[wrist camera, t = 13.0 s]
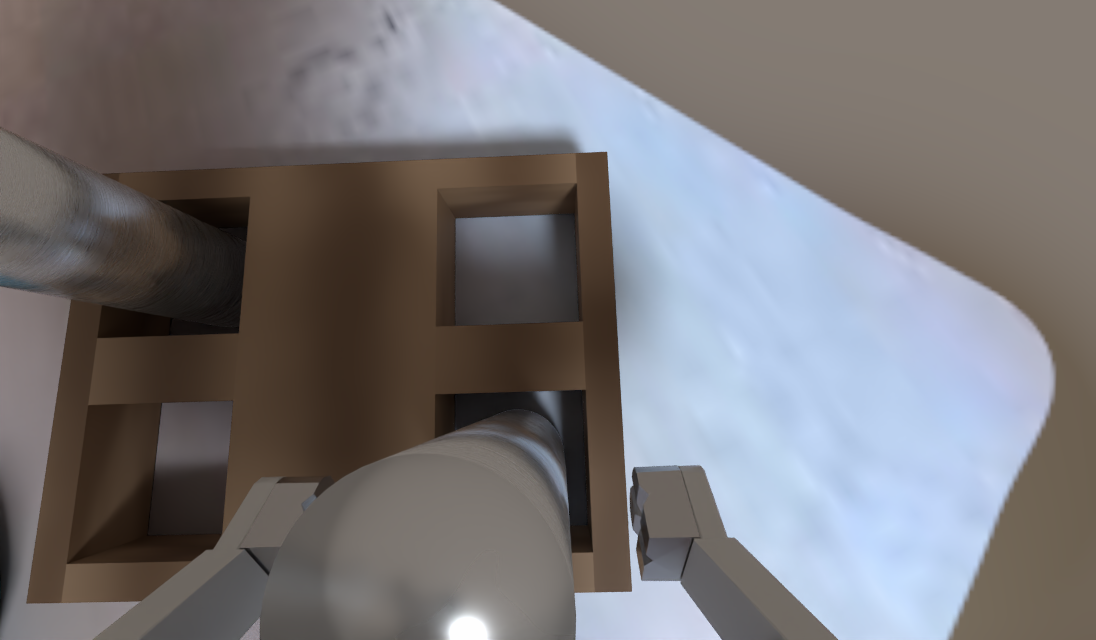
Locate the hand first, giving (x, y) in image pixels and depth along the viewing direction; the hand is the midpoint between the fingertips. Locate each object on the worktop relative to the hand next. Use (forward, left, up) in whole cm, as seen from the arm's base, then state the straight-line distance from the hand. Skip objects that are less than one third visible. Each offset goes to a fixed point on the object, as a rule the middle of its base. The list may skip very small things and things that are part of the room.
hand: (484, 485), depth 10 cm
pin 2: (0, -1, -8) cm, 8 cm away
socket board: (-6, +3, -8) cm, 11 cm away
